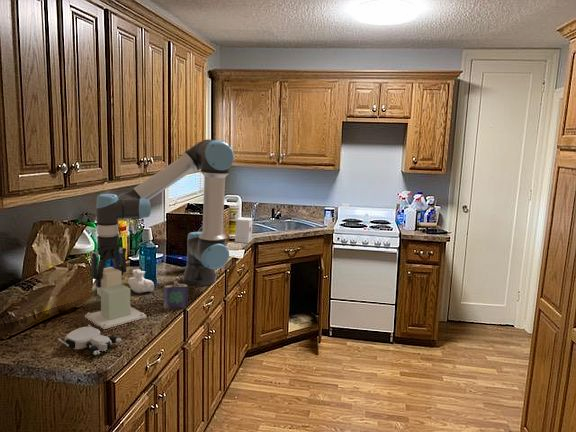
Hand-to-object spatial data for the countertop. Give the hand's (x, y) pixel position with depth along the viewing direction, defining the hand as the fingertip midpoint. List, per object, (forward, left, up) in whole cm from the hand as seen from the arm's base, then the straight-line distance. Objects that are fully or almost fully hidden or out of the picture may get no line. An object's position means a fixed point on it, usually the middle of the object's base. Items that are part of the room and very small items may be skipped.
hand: (109, 292), depth 177 cm
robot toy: (+22, +31, -5) cm, 38 cm away
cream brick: (0, 0, -1) cm, 1 cm away
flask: (-17, +20, -4) cm, 26 cm away
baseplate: (+5, +15, -4) cm, 16 cm away
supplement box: (-114, -46, -4) cm, 123 cm away
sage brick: (+5, +15, -3) cm, 16 cm away
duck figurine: (-16, -4, -4) cm, 17 cm away
